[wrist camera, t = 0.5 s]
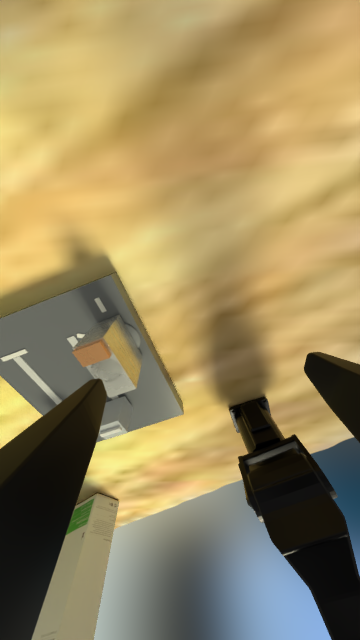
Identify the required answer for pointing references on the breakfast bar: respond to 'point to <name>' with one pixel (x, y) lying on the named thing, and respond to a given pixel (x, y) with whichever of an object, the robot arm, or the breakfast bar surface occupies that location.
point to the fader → (115, 418)
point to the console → (63, 367)
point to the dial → (110, 355)
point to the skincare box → (79, 573)
